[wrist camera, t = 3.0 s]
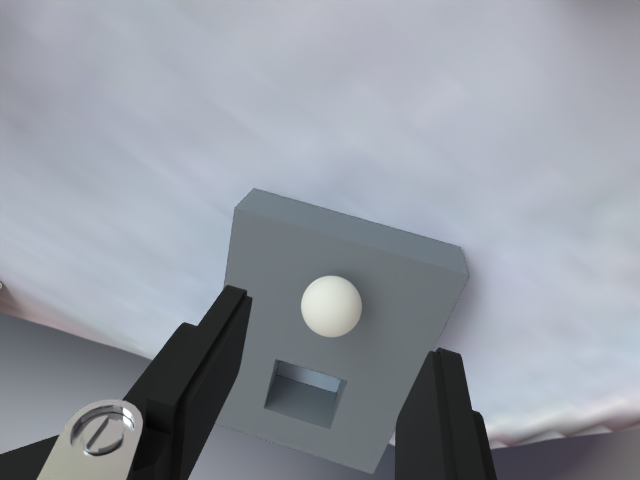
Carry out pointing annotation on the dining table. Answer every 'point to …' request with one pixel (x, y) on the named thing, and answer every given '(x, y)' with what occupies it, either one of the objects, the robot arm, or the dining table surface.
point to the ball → (331, 306)
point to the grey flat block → (333, 352)
